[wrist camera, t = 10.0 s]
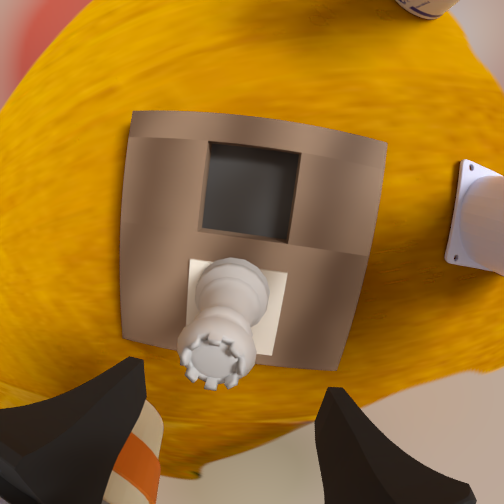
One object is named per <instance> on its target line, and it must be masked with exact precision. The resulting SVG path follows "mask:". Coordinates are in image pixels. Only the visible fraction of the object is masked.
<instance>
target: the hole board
mask: <svg viewBox="0 0 504 504" xmlns="http://www.w3.org/2000/svg"><path fill="white" fill-rule="evenodd" d="M386 152H387V143H386V142H383V141H379V140H375V139H371V138H367V137H363V136H359V135H355V134H351V133H346V132H342V131H337V130H333V129H328V128H323V127H318V126H312V125H307V124H301V123H295V122H289V121H283V120H276V119H269V118H261V117H253V116H243V115H233V114H222V113H208V112H190V111H133V114H132V120H131V126H130V132H129V139H128V146H127V154H126V162H125V172H124V182H123V194H122V208H121V227H120V301H121V320H122V334H123V338H124V339H128V340H132V341H136V342H140V343H144V344H148V345H153V346H157V347H162V348H166V349H171V350H176V351H177V343H178V337H179V336H180V334H181V332H182V330H183V328H184V327H186V326H187V325H189V324H190V323H192V322H193V320H194V318H195V317H196V315H197V314H198V313H199V312H198V309H197V306H196V303H195V290H196V285H197V283H198V280H199V278H200V276H201V274H202V273H203V271H204V269H205V268H207V267H208V266H209V265H211V264H212V263H213V262H215V261H217V260H221V259H225V258H230V257H231V258H237V259H244V260H246V261H248V262H250V263H251V264H253V265H255V266H257V267H258V268H259V269H260V271H261V272H262V273H263V275H264V276H265V277H266V279H267V282H268V286H269V290H270V294H269V300H268V305H267V311H266V312H265V314H264V315H263V317H262V318H261V319H260V321H259V322H258V324H256V325H254V326H253V327H251V330H252V333H253V336H252V339H253V341H254V345H255V348H256V351H257V354H256V360H255V364H262V365H271V366H280V367H290V368H301V369H314V370H330V371H337V368H338V365H339V362H340V359H341V356H342V353H343V350H344V347H345V344H346V341H347V338H348V334H349V331H350V328H351V324H352V321H353V317H354V314H355V310H356V307H357V303H358V299H359V296H360V292H361V288H362V284H363V280H364V276H365V272H366V267H367V263H368V259H369V254H370V250H371V245H372V240H373V235H374V230H375V225H376V220H377V214H378V208H379V202H380V196H381V190H382V183H383V176H384V169H385V161H386Z"/></svg>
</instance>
